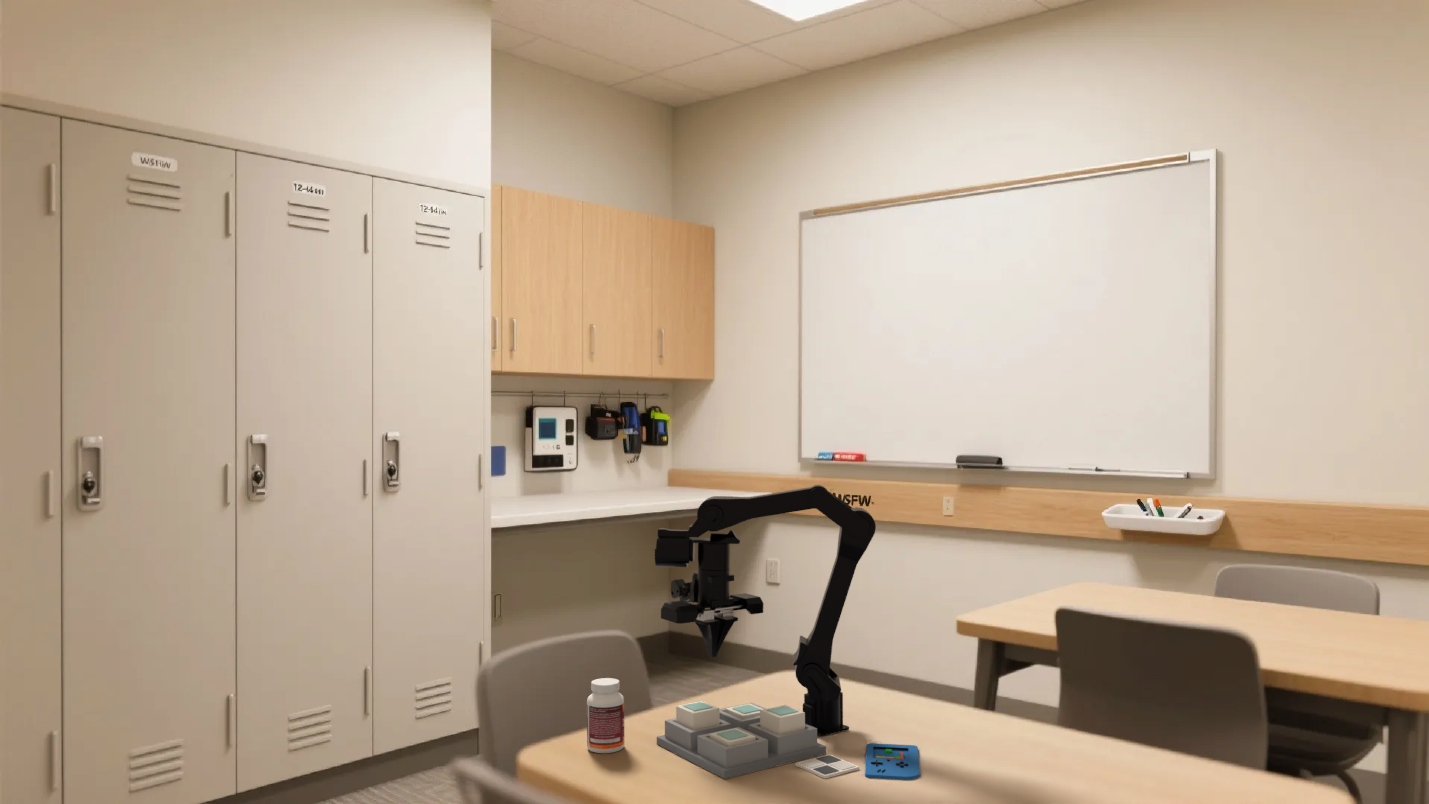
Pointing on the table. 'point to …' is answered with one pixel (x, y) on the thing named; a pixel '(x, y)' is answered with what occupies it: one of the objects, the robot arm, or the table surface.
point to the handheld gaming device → (892, 761)
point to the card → (827, 766)
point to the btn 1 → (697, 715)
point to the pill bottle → (605, 716)
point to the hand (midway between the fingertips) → (712, 656)
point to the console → (739, 746)
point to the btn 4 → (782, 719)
